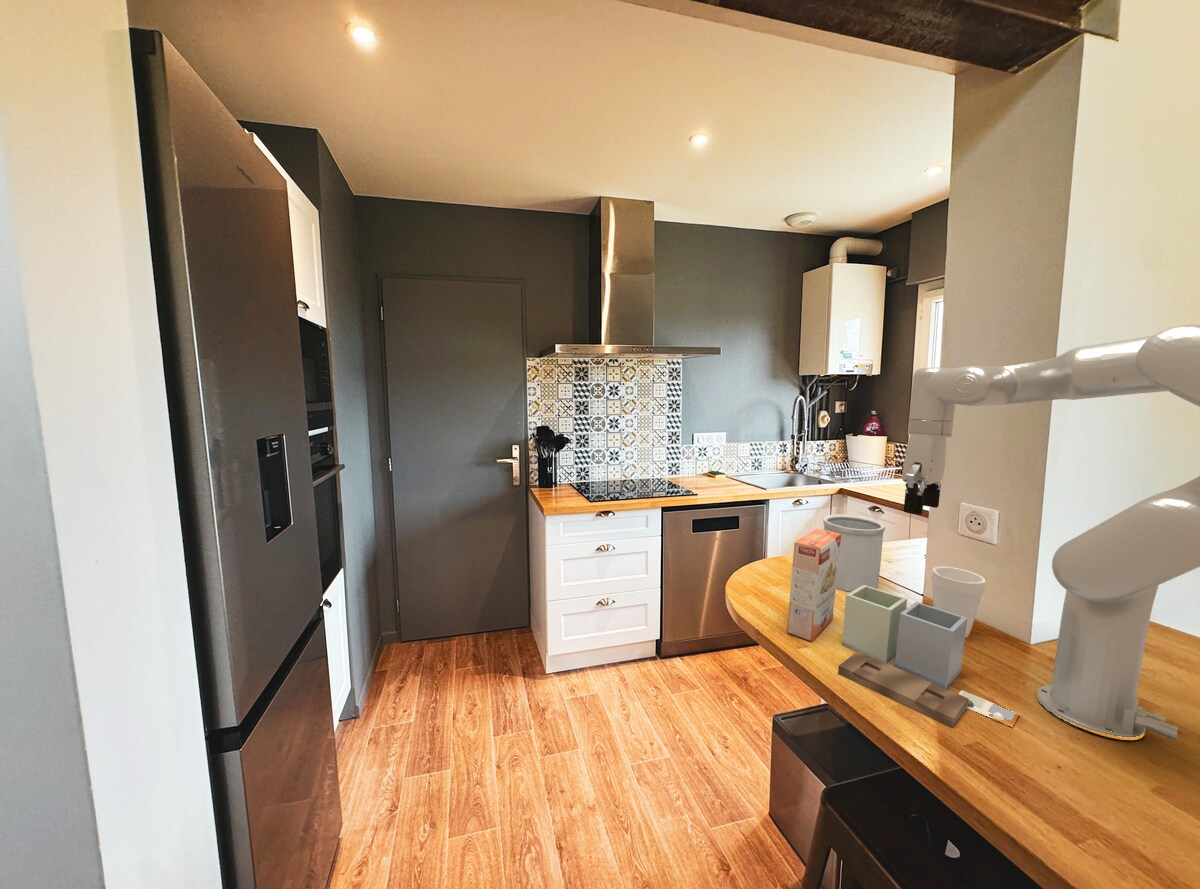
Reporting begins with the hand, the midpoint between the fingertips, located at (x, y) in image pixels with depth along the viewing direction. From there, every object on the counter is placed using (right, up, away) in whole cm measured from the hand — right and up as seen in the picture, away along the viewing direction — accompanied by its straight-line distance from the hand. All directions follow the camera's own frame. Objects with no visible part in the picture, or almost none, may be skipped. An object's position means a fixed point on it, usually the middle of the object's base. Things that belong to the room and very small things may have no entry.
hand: (921, 509), depth 100 cm
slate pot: (-5, -30, -9) cm, 31 cm away
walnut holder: (-14, -30, -15) cm, 36 cm away
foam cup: (+11, -28, +7) cm, 31 cm away
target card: (-2, -31, -20) cm, 37 cm away
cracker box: (-20, -28, +7) cm, 35 cm away
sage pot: (-11, -28, -1) cm, 30 cm away
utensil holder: (+1, -25, +32) cm, 40 cm away
